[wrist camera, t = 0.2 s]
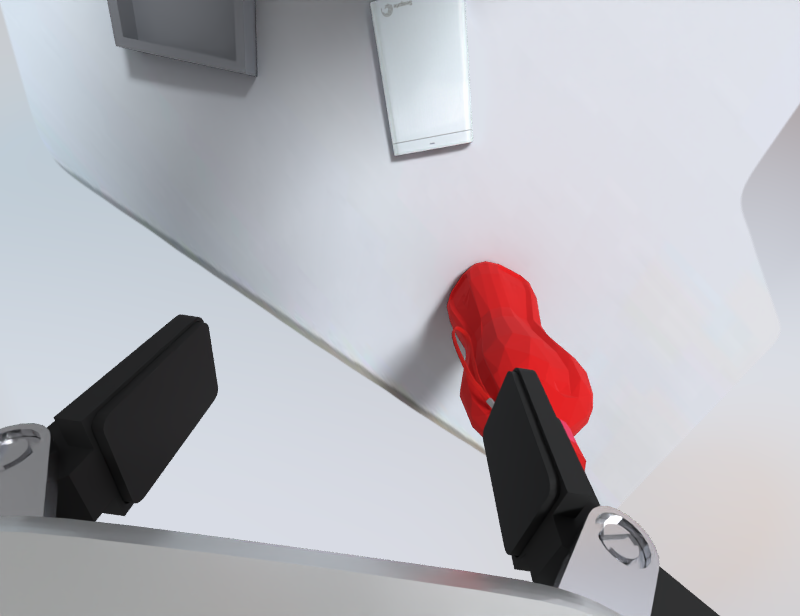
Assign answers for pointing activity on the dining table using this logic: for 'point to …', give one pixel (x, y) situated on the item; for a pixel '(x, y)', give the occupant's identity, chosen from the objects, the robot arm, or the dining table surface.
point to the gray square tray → (190, 31)
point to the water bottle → (511, 348)
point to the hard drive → (424, 72)
